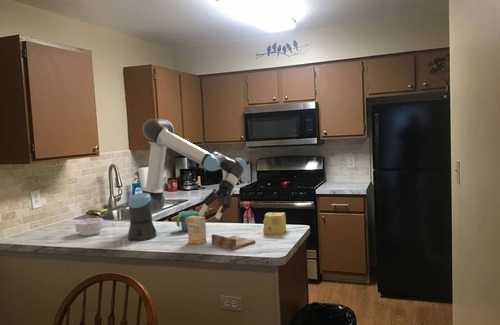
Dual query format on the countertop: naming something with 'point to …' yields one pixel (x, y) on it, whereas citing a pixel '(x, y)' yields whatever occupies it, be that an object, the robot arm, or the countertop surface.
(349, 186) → the countertop surface
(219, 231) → the countertop surface
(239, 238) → the mounting block
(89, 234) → the paper bowls
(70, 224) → the countertop surface
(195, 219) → the supplement box
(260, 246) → the countertop surface
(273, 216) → the cheese
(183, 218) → the snack cup
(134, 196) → the robot arm
